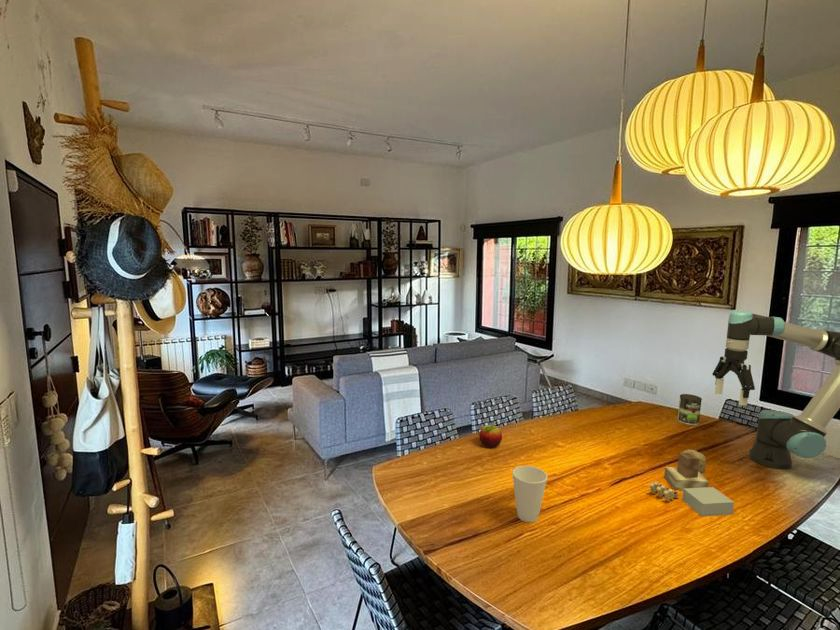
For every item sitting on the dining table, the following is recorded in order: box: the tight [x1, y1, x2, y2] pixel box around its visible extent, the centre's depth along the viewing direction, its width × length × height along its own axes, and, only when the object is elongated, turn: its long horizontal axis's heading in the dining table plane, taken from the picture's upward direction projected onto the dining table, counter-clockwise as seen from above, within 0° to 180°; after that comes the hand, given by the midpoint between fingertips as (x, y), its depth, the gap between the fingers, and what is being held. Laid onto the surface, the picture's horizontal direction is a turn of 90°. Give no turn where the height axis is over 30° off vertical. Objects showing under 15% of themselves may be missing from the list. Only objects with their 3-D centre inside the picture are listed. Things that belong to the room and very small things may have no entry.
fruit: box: [478, 424, 503, 449], centre depth 210 cm, size 11×11×10 cm
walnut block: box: [677, 452, 700, 478], centre depth 176 cm, size 5×5×8 cm
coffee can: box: [677, 393, 703, 426], centre depth 241 cm, size 10×10×14 cm
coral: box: [681, 449, 707, 474], centre depth 190 cm, size 9×9×8 cm
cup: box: [511, 465, 548, 523], centre depth 154 cm, size 12×12×16 cm
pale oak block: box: [663, 466, 710, 492], centre depth 177 cm, size 12×10×5 cm
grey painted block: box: [681, 486, 735, 517], centre depth 162 cm, size 12×10×5 cm
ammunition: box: [649, 481, 679, 503], centre depth 169 cm, size 5×7×8 cm
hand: (730, 399), depth 182 cm, fingers open, 13 cm apart
